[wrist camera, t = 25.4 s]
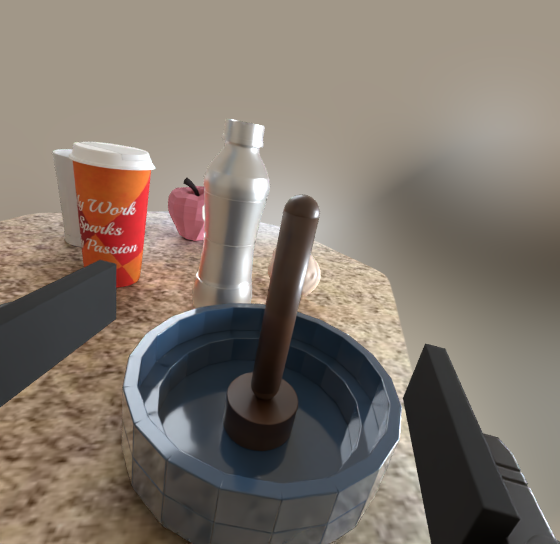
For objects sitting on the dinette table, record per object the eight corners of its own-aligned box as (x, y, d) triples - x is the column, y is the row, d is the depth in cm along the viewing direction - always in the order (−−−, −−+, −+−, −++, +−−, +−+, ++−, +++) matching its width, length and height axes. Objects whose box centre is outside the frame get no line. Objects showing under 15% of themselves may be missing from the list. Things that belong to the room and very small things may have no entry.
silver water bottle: (179, 322, 36) (197, 113, 29) (202, 294, 43) (221, 117, 35) (240, 336, 36) (274, 128, 28) (254, 306, 42) (285, 129, 35)
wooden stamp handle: (219, 397, 27) (251, 179, 20) (281, 394, 28) (329, 191, 22) (227, 454, 22) (271, 200, 16) (300, 448, 24) (367, 212, 18)
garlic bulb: (307, 284, 51) (319, 232, 48) (319, 306, 46) (334, 248, 42) (262, 280, 50) (272, 226, 47) (269, 302, 44) (280, 242, 41)
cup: (44, 241, 48) (37, 150, 44) (81, 227, 56) (79, 148, 51) (99, 254, 48) (97, 163, 43) (130, 238, 55) (131, 159, 51)
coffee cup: (57, 283, 39) (47, 141, 33) (100, 258, 47) (98, 139, 41) (130, 298, 39) (133, 158, 33) (161, 271, 46) (168, 153, 41)
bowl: (138, 354, 31) (140, 299, 29) (323, 353, 36) (336, 306, 34) (96, 606, 15) (94, 526, 13) (430, 539, 21) (466, 474, 19)
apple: (186, 250, 55) (192, 186, 51) (154, 233, 59) (157, 172, 55) (231, 242, 62) (239, 185, 58) (199, 227, 66) (204, 173, 63)
